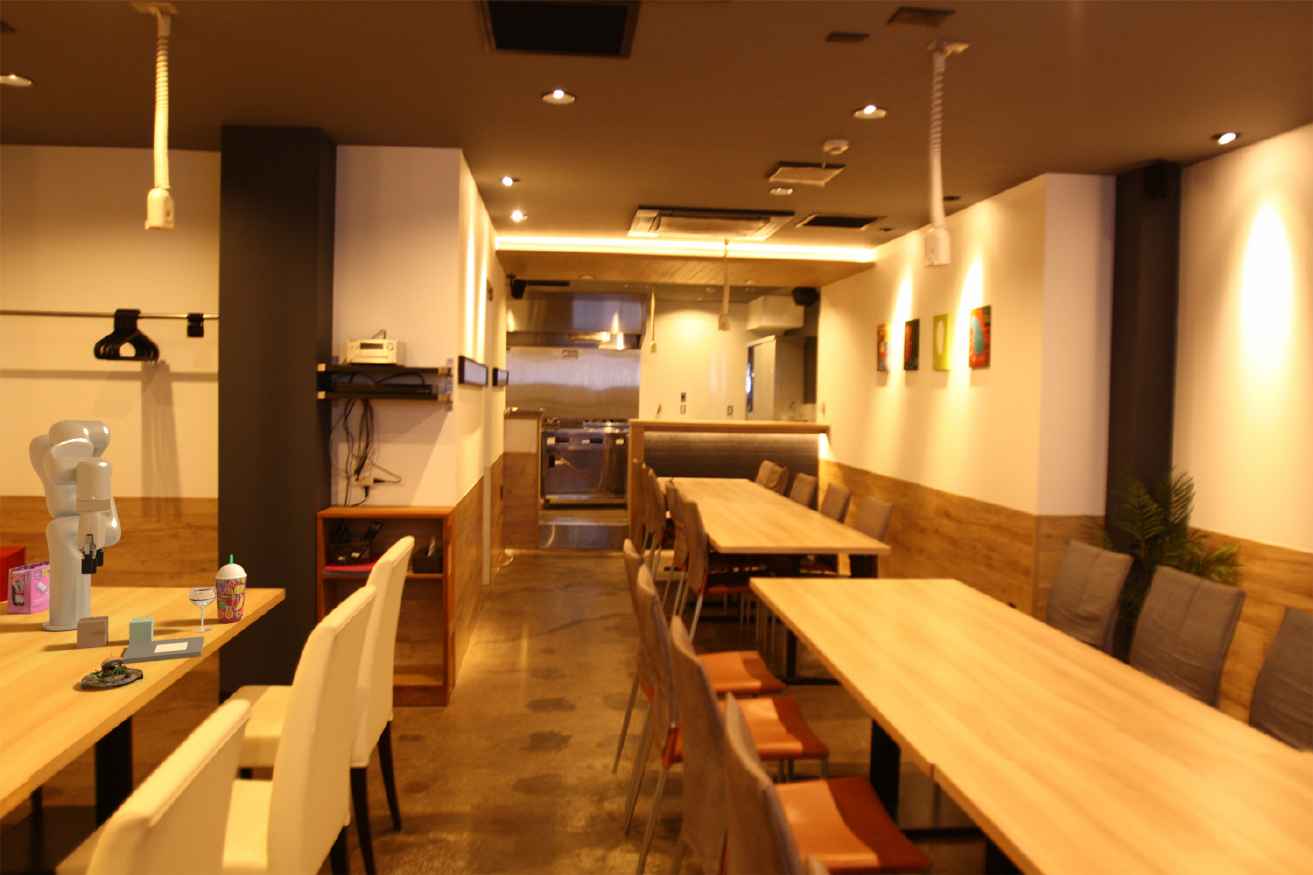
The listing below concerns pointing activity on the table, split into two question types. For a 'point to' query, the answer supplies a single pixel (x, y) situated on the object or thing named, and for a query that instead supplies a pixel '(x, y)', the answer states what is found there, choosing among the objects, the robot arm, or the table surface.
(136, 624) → the teal block
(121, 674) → the burger
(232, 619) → the smoothie
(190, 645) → the slate board
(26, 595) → the gum box
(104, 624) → the walnut block
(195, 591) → the wineglass
